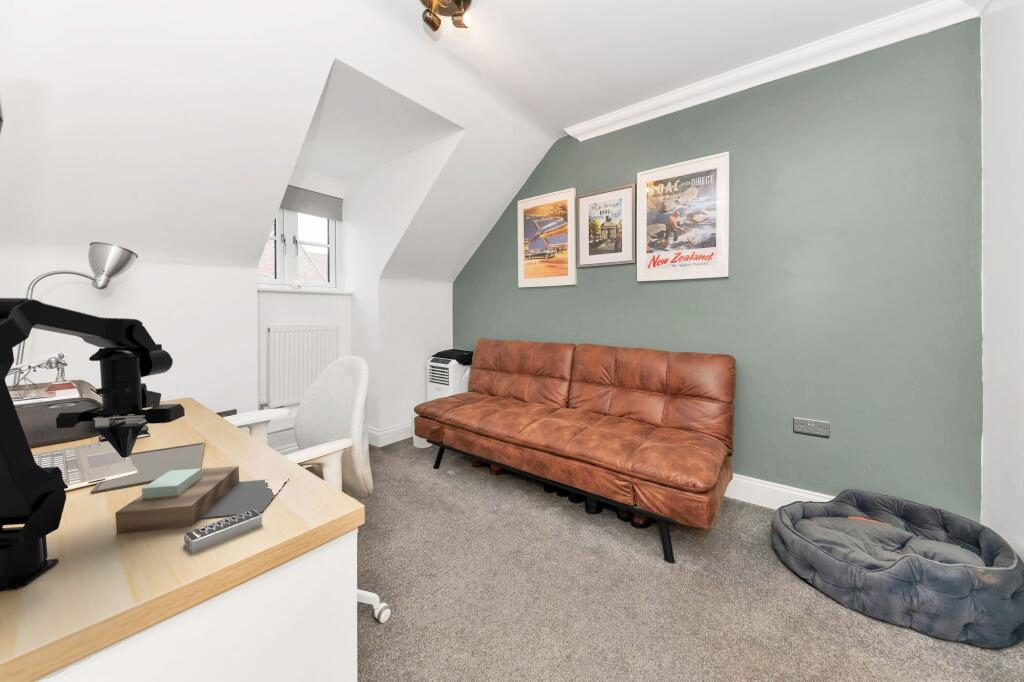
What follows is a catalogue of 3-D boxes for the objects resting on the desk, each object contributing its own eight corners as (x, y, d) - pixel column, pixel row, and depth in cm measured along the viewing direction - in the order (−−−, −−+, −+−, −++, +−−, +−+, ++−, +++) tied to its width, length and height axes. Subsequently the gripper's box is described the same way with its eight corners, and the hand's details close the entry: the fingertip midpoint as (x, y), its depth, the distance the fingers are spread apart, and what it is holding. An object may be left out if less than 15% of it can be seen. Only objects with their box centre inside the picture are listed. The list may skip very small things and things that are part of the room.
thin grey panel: (119, 458, 110) (90, 496, 88) (119, 454, 110) (90, 491, 88) (205, 445, 122) (200, 475, 99) (205, 442, 121) (199, 471, 99)
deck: (192, 525, 75) (191, 505, 74) (116, 533, 72) (115, 512, 72) (239, 482, 94) (238, 465, 94) (180, 487, 91) (180, 470, 91)
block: (178, 495, 79) (177, 485, 78) (142, 498, 77) (141, 488, 77) (202, 477, 87) (201, 468, 87) (170, 479, 86) (170, 470, 86)
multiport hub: (263, 526, 75) (262, 514, 75) (192, 554, 66) (191, 541, 66) (253, 519, 78) (252, 508, 78) (183, 545, 69) (183, 533, 69)
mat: (262, 513, 80) (262, 511, 80) (199, 519, 77) (199, 517, 77) (289, 478, 96) (289, 477, 96) (238, 483, 94) (238, 481, 94)
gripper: (197, 373, 89) (200, 441, 90) (97, 376, 85) (101, 447, 86) (166, 382, 78) (170, 458, 79) (49, 385, 74) (55, 466, 75)
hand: (126, 456), depth 80 cm, fingers closed
